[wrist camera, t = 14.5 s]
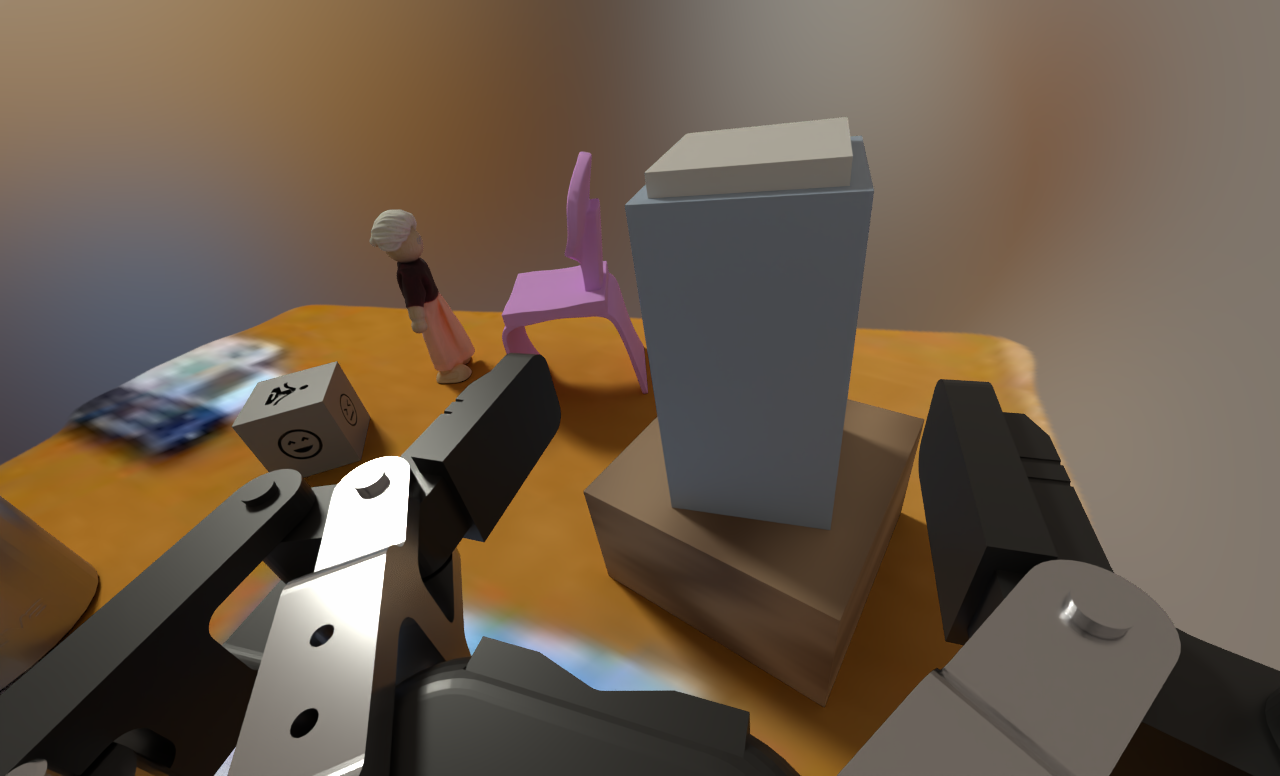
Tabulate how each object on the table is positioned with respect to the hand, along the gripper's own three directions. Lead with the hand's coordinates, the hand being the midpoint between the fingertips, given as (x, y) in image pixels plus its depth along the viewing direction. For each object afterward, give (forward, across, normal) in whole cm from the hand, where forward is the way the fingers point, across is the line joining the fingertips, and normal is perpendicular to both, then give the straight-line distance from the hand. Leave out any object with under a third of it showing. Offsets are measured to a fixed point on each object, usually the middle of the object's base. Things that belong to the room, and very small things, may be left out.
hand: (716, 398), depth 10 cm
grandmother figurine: (+19, +26, +14) cm, 35 cm away
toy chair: (+18, +14, +14) cm, 27 cm away
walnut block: (+6, 0, +14) cm, 15 cm away
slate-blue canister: (+6, 0, +8) cm, 10 cm away
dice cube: (+8, +29, +14) cm, 33 cm away
